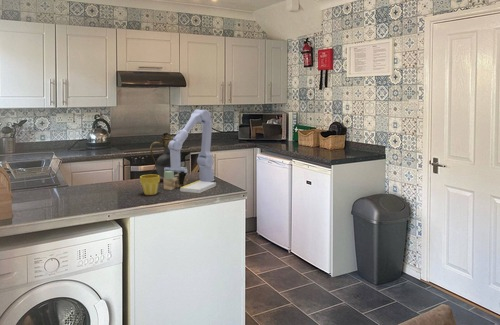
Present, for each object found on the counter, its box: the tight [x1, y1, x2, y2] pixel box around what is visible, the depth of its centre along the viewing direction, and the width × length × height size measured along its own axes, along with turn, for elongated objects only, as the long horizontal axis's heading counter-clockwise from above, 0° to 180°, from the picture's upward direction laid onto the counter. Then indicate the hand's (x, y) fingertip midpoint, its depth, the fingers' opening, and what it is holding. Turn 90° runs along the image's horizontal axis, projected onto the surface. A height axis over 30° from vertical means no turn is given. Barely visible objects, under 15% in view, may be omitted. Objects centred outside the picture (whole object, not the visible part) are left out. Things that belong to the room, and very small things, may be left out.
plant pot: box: [139, 174, 161, 196], centre depth 230 cm, size 10×10×10 cm
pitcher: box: [149, 132, 183, 182], centre depth 262 cm, size 11×19×30 cm, turn 118°
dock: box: [179, 180, 217, 194], centre depth 243 cm, size 20×12×2 cm, turn 157°
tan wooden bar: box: [162, 173, 189, 191], centre depth 248 cm, size 18×5×6 cm, turn 157°
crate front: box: [163, 171, 174, 179], centre depth 241 cm, size 4×4×4 cm
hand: (176, 183), depth 248 cm, fingers open, 7 cm apart
